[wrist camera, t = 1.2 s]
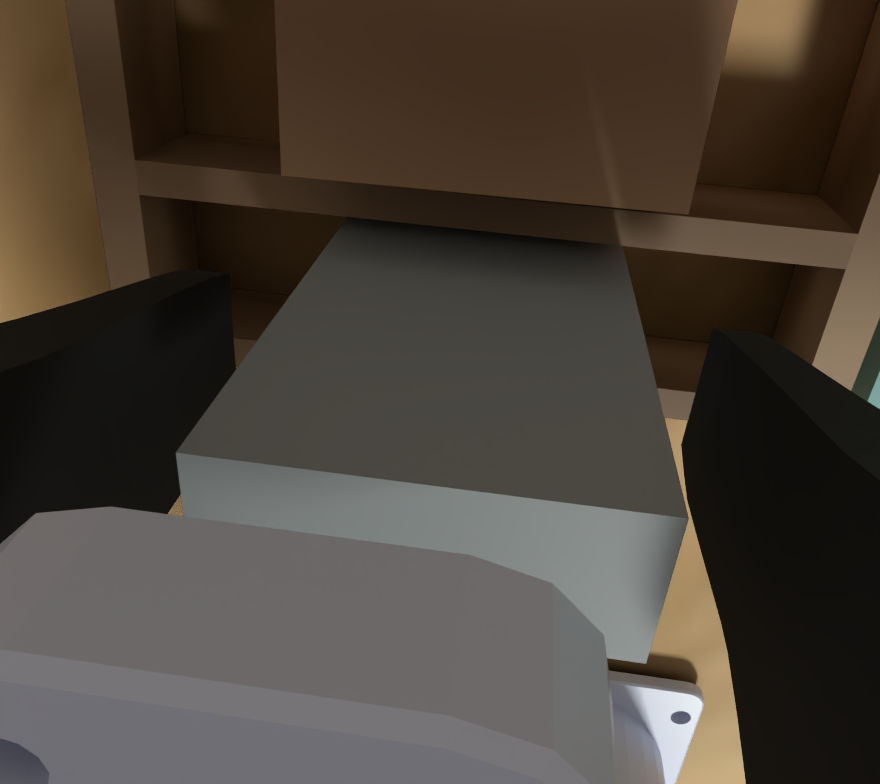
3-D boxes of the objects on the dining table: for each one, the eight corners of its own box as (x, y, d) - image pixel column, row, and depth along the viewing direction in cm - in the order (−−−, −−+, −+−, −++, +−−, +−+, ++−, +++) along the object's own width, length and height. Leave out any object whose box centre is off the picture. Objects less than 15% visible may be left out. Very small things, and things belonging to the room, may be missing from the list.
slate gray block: (598, 316, 16) (646, 664, 8) (360, 289, 16) (194, 599, 9) (617, 222, 15) (688, 519, 7) (362, 196, 15) (175, 452, 8)
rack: (800, 379, 16) (833, 437, 14) (167, 306, 17) (120, 352, 15) (964, -95, 12) (1042, -103, 10) (112, -158, 13) (38, -174, 11)
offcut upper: (670, 178, 13) (688, 214, 11) (315, 144, 13) (281, 175, 12) (713, -27, 11) (742, -21, 10) (311, -57, 12) (271, -56, 10)
